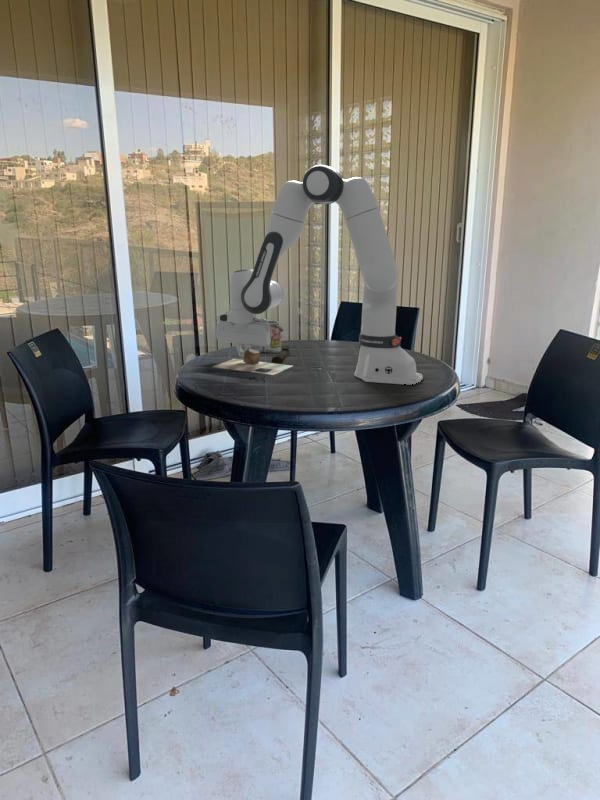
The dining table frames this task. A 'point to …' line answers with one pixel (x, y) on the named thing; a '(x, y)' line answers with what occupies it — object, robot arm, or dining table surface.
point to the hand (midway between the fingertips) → (243, 356)
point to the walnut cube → (251, 356)
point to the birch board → (253, 366)
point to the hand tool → (281, 355)
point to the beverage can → (274, 338)
